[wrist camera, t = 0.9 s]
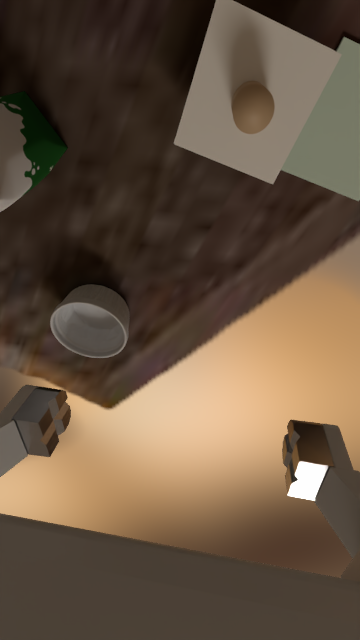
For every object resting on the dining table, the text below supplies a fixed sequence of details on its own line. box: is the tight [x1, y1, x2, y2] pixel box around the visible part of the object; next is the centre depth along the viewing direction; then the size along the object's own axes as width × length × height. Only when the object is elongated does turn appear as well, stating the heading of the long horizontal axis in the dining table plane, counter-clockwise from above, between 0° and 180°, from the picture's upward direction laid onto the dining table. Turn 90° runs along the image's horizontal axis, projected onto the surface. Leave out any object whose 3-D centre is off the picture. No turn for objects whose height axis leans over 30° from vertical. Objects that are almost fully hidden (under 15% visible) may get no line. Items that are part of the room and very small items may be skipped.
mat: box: [281, 37, 360, 201], centre depth 37 cm, size 13×12×1 cm
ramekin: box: [50, 284, 129, 358], centre depth 56 cm, size 13×13×7 cm
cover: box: [174, 0, 342, 184], centre depth 30 cm, size 12×12×5 cm
